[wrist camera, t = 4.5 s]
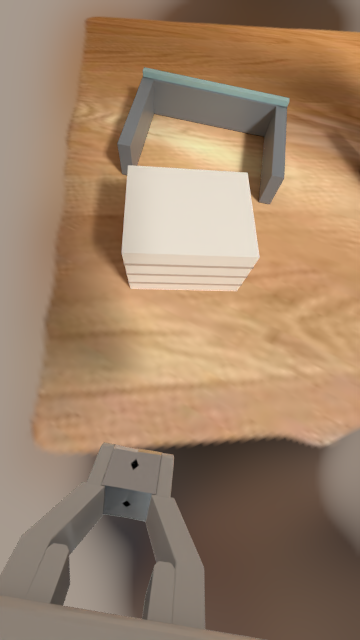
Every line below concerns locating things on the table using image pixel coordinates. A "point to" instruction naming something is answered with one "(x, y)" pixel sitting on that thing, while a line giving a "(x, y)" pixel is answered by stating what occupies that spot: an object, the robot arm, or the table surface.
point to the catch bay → (209, 118)
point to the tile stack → (188, 229)
